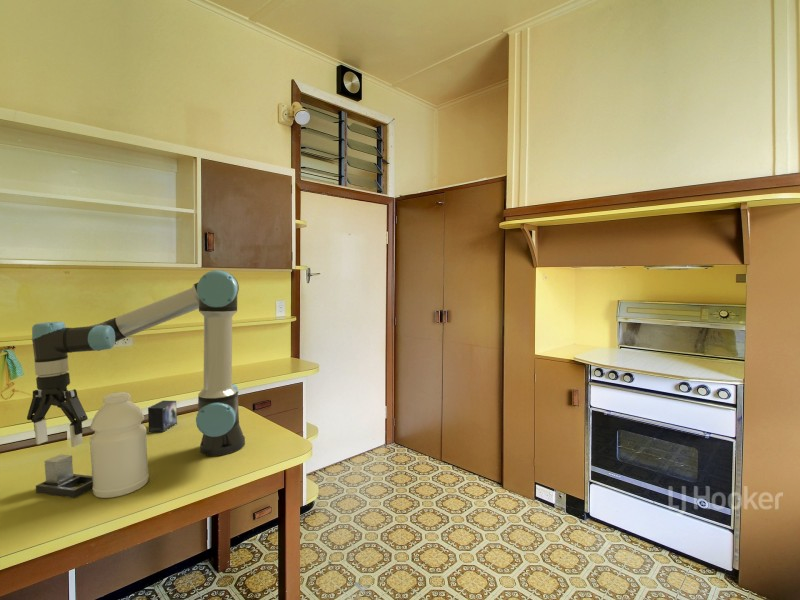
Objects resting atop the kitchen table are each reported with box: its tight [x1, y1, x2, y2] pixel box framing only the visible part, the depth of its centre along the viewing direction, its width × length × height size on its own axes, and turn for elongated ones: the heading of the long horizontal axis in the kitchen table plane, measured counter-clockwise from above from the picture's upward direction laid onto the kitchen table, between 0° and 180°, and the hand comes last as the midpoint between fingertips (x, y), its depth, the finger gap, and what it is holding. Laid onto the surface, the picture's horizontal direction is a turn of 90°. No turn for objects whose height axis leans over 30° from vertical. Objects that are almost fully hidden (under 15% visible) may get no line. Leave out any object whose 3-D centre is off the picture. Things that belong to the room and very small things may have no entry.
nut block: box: [44, 453, 74, 486], centre depth 121 cm, size 4×4×9 cm
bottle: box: [89, 391, 150, 499], centre depth 120 cm, size 14×14×28 cm
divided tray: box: [35, 473, 93, 499], centre depth 121 cm, size 14×8×2 cm, turn 77°
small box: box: [147, 400, 178, 433], centre depth 170 cm, size 11×6×10 cm, turn 179°
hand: (59, 443), depth 121 cm, fingers open, 13 cm apart
